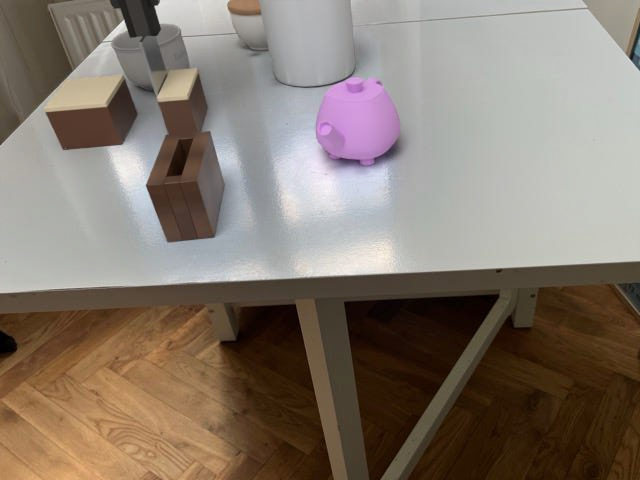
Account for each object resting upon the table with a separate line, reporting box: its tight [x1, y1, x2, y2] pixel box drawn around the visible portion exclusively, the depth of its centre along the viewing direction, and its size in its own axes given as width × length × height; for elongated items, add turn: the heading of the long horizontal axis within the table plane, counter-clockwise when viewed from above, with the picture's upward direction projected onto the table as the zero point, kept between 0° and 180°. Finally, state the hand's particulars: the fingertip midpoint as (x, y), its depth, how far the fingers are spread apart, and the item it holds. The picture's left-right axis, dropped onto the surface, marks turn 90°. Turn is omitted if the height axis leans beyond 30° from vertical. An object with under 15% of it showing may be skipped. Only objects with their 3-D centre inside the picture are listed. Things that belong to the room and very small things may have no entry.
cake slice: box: [156, 67, 209, 135], centre depth 79 cm, size 4×10×6 cm, turn 6°
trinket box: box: [226, 0, 269, 51], centre depth 102 cm, size 11×11×9 cm
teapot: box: [315, 76, 401, 166], centre depth 69 cm, size 10×15×9 cm
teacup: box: [110, 23, 190, 92], centre depth 91 cm, size 14×11×8 cm
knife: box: [125, 0, 168, 112], centre depth 73 cm, size 7×2×17 cm, turn 6°
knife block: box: [145, 130, 226, 243], centre depth 61 cm, size 11×5×7 cm, turn 6°
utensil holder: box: [259, 0, 356, 88], centre depth 88 cm, size 15×15×18 cm
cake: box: [43, 74, 138, 151], centre depth 78 cm, size 8×10×6 cm
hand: (145, 33), depth 72 cm, fingers closed on knife, 2 cm apart
